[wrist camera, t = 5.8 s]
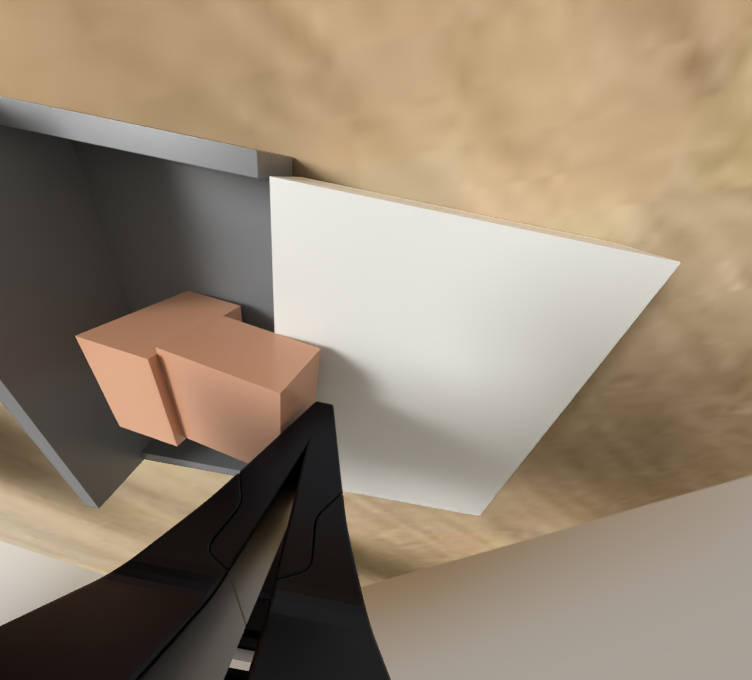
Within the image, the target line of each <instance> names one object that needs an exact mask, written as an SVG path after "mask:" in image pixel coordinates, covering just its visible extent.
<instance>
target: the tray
mask: <svg viewBox="0 0 752 680" xmlns="http://www.w3.org/2000/svg"><path fill="white" fill-rule="evenodd" d="M269 176H281V177H293V157H289V156H285V155H280V154H275V153H270V152H266V151H261V150H256V149H251V148H247V147H242V146H237V145H232V144H228V143H223V142H218V141H213V140H209V139H204V138H199V137H194V136H190V135H185V134H180V133H175V132H171V131H166V130H161V129H156V128H152V127H147V126H142V125H137V124H133V123H128V122H123V121H118V120H114V119H109V118H104V117H99V116H95V115H90V114H85V113H80V112H76V111H71V110H66V109H61V108H57V107H52V106H47V105H42V104H37V103H32V102H27V101H23V100H18V99H13V98H8V97H3V96H0V401H1V402H2V403H3V405H4V406H5V407H6V408H7V410H8V411H9V412H10V413H11V415H12V416H13V417H14V418H15V419H16V421H17V422H18V423H19V424H20V426H21V427H22V428H23V429H24V431H25V432H26V433H27V434H28V435H29V437H30V438H31V439H32V440H33V442H34V443H35V444H36V445H37V447H38V448H39V449H40V450H41V451H42V453H43V454H44V455H45V456H46V458H47V459H48V460H49V461H50V463H51V464H52V465H53V466H54V467H55V469H56V470H57V471H58V472H59V474H60V475H61V476H62V477H63V479H64V480H65V481H66V482H67V483H68V485H69V486H70V487H71V488H72V490H73V491H74V492H75V493H76V495H77V496H78V497H79V498H80V499H81V501H82V502H83V503H84V504H85V506H89V507H94V508H100V507H101V506H102V504H103V503H104V502H105V501H106V500H107V499H108V498H109V497H110V496H111V495H112V494H113V493H114V491H115V490H116V489H117V488H118V487H119V486H120V485H121V484H122V483H123V482H124V481H125V479H126V478H127V477H128V476H129V475H130V474H131V473H132V472H133V471H134V470H135V469H136V468H137V466H138V465H139V464H140V463H141V462H142V461H143V460H144V459H146V460H152V461H157V462H162V463H168V464H173V465H179V466H184V467H189V468H195V469H200V470H206V471H211V472H217V473H222V474H227V475H233V476H235V475H236V474H237V473H239V474H240V471H241V470H242V469H243V468H244V467H245V466H246V465H247V464H248V463H246V462H243V461H241V460H238V459H236V458H234V457H231V456H229V455H226V454H224V453H222V452H219V451H217V450H214V449H212V448H210V447H207V446H205V445H202V444H200V443H198V442H195V441H193V440H190V439H188V438H186V439H185V440H184V441H183V442H181V443H180V444H179V445H178V446H174V445H172V444H169V443H166V442H163V441H160V440H157V439H154V438H152V437H149V436H146V435H143V434H140V433H137V432H134V431H132V430H129V429H126V428H123V427H120V426H119V424H118V422H117V420H116V418H115V416H114V414H113V412H112V410H111V408H110V406H109V404H108V402H107V400H106V398H105V396H104V394H103V392H102V390H101V388H100V386H99V383H98V381H97V379H96V377H95V375H94V373H93V371H92V369H91V367H90V365H89V363H88V361H87V359H86V357H85V355H84V353H83V351H82V349H81V347H80V345H79V343H78V341H77V339H76V337H75V336H76V335H78V334H81V333H83V332H86V331H88V330H91V329H93V328H96V327H98V326H101V325H103V324H106V323H108V322H111V321H113V320H116V319H118V318H121V317H123V316H126V315H128V314H131V313H133V312H136V311H138V310H141V309H143V308H146V307H148V306H151V305H153V304H156V303H158V302H161V301H163V300H166V299H168V298H171V297H173V296H176V295H178V294H181V293H183V292H186V291H192V292H195V293H199V294H202V295H205V296H209V297H212V298H216V299H219V300H223V301H226V302H230V303H233V304H236V305H240V306H241V316H242V322H243V323H246V324H249V325H252V326H255V327H258V328H261V329H264V330H267V331H270V332H273V333H275V330H274V299H273V269H272V238H271V208H270V178H269Z"/></svg>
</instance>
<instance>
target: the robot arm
mask: <svg viewBox="0 0 752 680" xmlns="http://www.w3.org/2000/svg"><path fill="white" fill-rule="evenodd" d="M342 494H343V490H342V481H341V472H340V462H339V453H338V444H337V434H336V425H335V416H334V406H333V405H332V404H328V403H323V402H319V401H316V402H315V403H313V404H312V405H311V406H310V407H309V408H308V409H307V410H306V411H305V412H304V413H303V414H301V415H300V416H299V417H298V418H297V419H296V420H295V421H294V422H293V423H292V424H291V425H290V426H288V427H287V428H286V429H285V430H284V431H283V432H282V433H281V434H280V435H279V436H278V437H277V438H275V439H274V440H273V441H272V442H271V443H270V444H269V445H268V446H267V447H266V448H265V449H263V450H262V451H261V452H260V453H259V454H258V455H257V456H256V457H255V458H254V459H253V460H252V461H250V462H249V463H248V464H247V465H246V466H245V467H244V468H243V469H242V470H241V471H240V474H239V473H237V474H236V475H235V476H234V477H233V478H232V479H231V480H230V481H229V482H228V483H226V484H225V485H224V486H223V487H222V488H221V489H220V490H219V491H217V492H216V493H215V494H214V495H213V496H212V497H211V498H209V499H208V500H207V501H206V502H204V503H203V504H202V505H201V506H199V507H198V508H197V509H196V510H194V511H193V512H192V513H191V514H189V515H188V516H187V517H185V518H184V519H183V520H182V521H180V522H179V523H178V524H176V525H175V526H174V527H172V528H171V529H170V530H169V531H167V532H166V533H165V534H163V535H162V536H161V537H159V538H158V539H157V540H156V541H154V542H153V543H152V544H150V545H149V546H148V547H147V548H145V549H144V550H143V551H141V552H140V553H139V554H137V555H136V556H135V557H133V558H132V559H131V560H129V561H128V562H126V563H125V564H123V565H122V566H120V567H119V568H117V569H116V570H114V571H112V572H111V573H109V574H107V575H105V576H104V577H102V578H100V579H98V580H96V581H94V582H92V583H90V584H88V585H86V586H84V587H82V588H79V589H77V590H75V591H74V592H71V593H69V594H67V595H65V596H63V597H61V598H58V599H57V600H54V601H52V602H50V603H48V604H46V605H44V606H42V607H40V608H37V609H36V610H33V611H31V612H29V613H27V614H25V615H23V616H21V617H19V618H16V619H14V620H12V621H10V622H8V623H6V624H4V625H2V626H0V680H391V679H390V676H389V674H388V671H387V669H386V666H385V663H384V661H383V658H382V655H381V653H380V650H379V648H378V645H377V642H376V640H375V637H374V634H373V631H372V628H371V625H370V622H369V618H368V615H367V611H366V607H365V604H364V599H363V595H362V591H361V587H360V582H359V578H358V574H357V570H356V565H355V561H354V557H353V552H352V548H351V543H350V538H349V534H348V528H347V522H346V515H345V508H344V499H343V495H342ZM232 659H236V660H241V661H246V662H251V666H250V669H249V671H245V670H239V669H234V668H229V666H230V663H231V661H232Z"/></svg>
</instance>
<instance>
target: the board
mask: <svg viewBox="0 0 752 680" xmlns="http://www.w3.org/2000/svg"><path fill="white" fill-rule="evenodd" d="M269 178H270V208H271V238H272V269H273V299H274V330H275V333H276V334H279V335H282V336H285V337H288V338H291V339H294V340H297V341H300V342H303V343H306V344H309V345H312V346H315V347H318V348H321V351H320V361H319V371H318V381H317V391H316V401H319V402H323V403H328V404H332V405H333V406H334V416H335V425H336V434H337V444H338V453H339V462H340V472H341V481H342V490H343V491H346V492H352V493H357V494H363V495H368V496H373V497H379V498H384V499H390V500H395V501H400V502H406V503H411V504H417V505H422V506H427V507H433V508H438V509H444V510H449V511H454V512H460V513H465V514H471V515H476V516H480V514H481V513H482V512H483V511H484V509H485V508H486V507H487V505H488V504H489V503H490V502H491V500H492V499H493V498H494V497H495V495H496V494H497V493H498V492H499V490H500V489H501V488H502V487H503V485H504V484H505V483H506V482H507V480H508V479H509V478H510V477H511V475H512V474H513V473H514V472H515V470H516V469H517V468H518V467H519V465H520V464H521V463H522V462H523V460H524V459H525V458H526V457H527V455H528V454H529V453H530V452H531V450H532V449H533V448H534V446H535V445H536V444H537V443H538V441H539V440H540V439H541V438H542V436H543V435H544V434H545V433H546V431H547V430H548V429H549V428H550V426H551V425H552V424H553V423H554V421H555V420H556V419H557V418H558V416H559V415H560V414H561V413H562V411H563V410H564V409H565V408H566V406H567V405H568V404H569V403H570V401H571V400H572V399H573V398H574V396H575V395H576V394H577V392H578V391H579V390H580V389H581V387H582V386H583V385H584V384H585V382H586V381H587V380H588V379H589V377H590V376H591V375H592V374H593V372H594V371H595V370H596V369H597V367H598V366H599V365H600V364H601V362H602V361H603V360H604V359H605V357H606V356H607V355H608V354H609V352H610V351H611V350H612V349H613V347H614V346H615V345H616V344H617V342H618V341H619V340H620V338H621V337H622V336H623V335H624V333H625V332H626V331H627V330H628V328H629V327H630V326H631V325H632V323H633V322H634V321H635V320H636V318H637V317H638V316H639V315H640V313H641V312H642V311H643V310H644V308H645V307H646V306H647V305H648V303H649V302H650V301H651V300H652V298H653V297H654V296H655V295H656V293H657V292H658V291H659V290H660V288H661V287H662V286H663V284H664V283H665V282H666V281H667V279H668V278H669V277H670V276H671V274H672V273H673V272H674V271H675V269H676V268H677V267H678V266H679V264H680V263H681V262H679V261H676V260H672V259H669V258H666V257H662V256H659V255H655V254H652V253H649V252H645V251H642V250H639V249H635V248H632V247H629V246H625V245H622V244H619V243H615V242H610V241H606V240H601V239H596V238H591V237H586V236H582V235H577V234H572V233H567V232H563V231H558V230H553V229H548V228H543V227H539V226H534V225H529V224H524V223H520V222H515V221H510V220H505V219H500V218H496V217H491V216H486V215H481V214H477V213H472V212H467V211H462V210H457V209H453V208H448V207H443V206H438V205H433V204H429V203H424V202H419V201H414V200H410V199H405V198H400V197H395V196H390V195H386V194H381V193H376V192H371V191H367V190H362V189H357V188H352V187H347V186H343V185H338V184H333V183H328V182H323V181H319V180H314V179H309V178H304V177H281V176H269ZM316 401H315V402H316Z"/></svg>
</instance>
